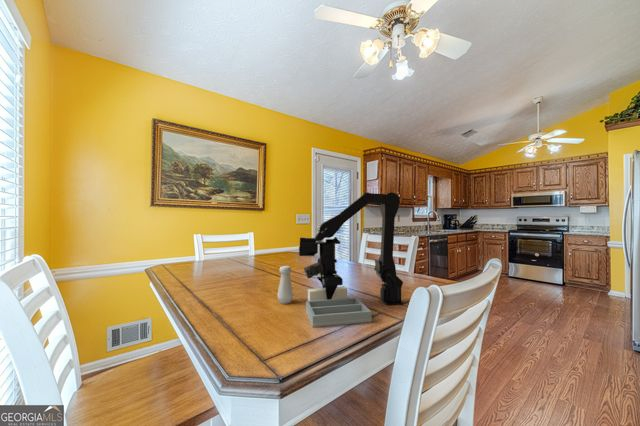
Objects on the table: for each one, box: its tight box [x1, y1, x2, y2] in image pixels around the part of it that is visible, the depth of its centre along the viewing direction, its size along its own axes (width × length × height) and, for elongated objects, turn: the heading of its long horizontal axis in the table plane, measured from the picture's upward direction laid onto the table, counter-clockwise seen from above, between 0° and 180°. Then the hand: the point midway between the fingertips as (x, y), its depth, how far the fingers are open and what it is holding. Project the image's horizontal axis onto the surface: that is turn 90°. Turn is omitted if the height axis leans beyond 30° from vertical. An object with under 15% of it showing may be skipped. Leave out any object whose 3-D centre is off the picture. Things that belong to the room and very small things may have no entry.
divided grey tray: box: [305, 297, 373, 328], centre depth 79 cm, size 18×13×3 cm
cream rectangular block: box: [307, 285, 348, 301], centre depth 91 cm, size 14×4×5 cm, turn 106°
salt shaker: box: [277, 265, 294, 305], centre depth 92 cm, size 6×6×13 cm
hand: (327, 299), depth 91 cm, fingers closed on cream rectangular block, 4 cm apart
